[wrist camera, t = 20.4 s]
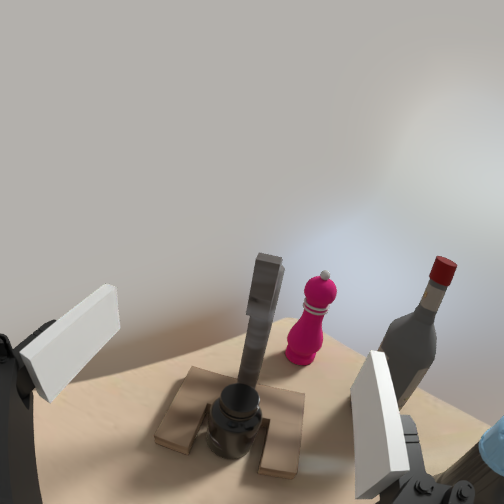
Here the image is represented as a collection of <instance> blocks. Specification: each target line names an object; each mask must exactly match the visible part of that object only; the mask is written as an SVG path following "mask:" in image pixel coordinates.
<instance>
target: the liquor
mask: <svg viewBox="0 0 504 504" xmlns="http://www.w3.org/2000/svg"><path fill="white" fill-rule="evenodd" d="M456 268H457V264H456V263H454V262H453V261H451V260H449V259H447V258H444V257H441V256H437V257H436V259H435V262H434V264H433V267H432V270H431V273H430V275H429V277H430V280H429V282H428V285H427V287H426V290H425V292H424V294H423V297H422V299H421V301H420V303H419V305H418V306H417V307H416V309H415V311H414V312H413V313H410V314H408V315H405V316H403V317H400V318H398V319H395V320H394V321H393V322H392V323H391V324H390V326H389V328H388V330H387V332H386V334H385V337H384V338H383V341H382V343H381V345H380V347H379V349H378V352H384V353H385V357H386V361H387V364H388V368H389V372H390V376H391V379H392V383H393V387H394V391H395V396H396V400H397V404H398V409H399V411H400V410H401V408H402V407H403V406H404V404H405V403H406V402H407V400H408V399H409V397H410V396H411V395H412V393H413V392H414V390H415V389H416V387H417V386H418V384H419V383H420V381H421V380H422V378H423V377H424V375H425V374H426V372H427V371H428V369H429V367H430V366H431V364H432V363H433V361H434V358H435V354H436V340H437V337H436V332H435V328H434V319H435V315H436V313H437V311H438V308H439V306H440V304H441V302H442V299H443V297H444V295H445V292H446V290H447V287H448V286H449V285H450V283H451V281H452V279H453V276H454V273H455V271H456ZM351 406H352V402H351Z"/></svg>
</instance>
